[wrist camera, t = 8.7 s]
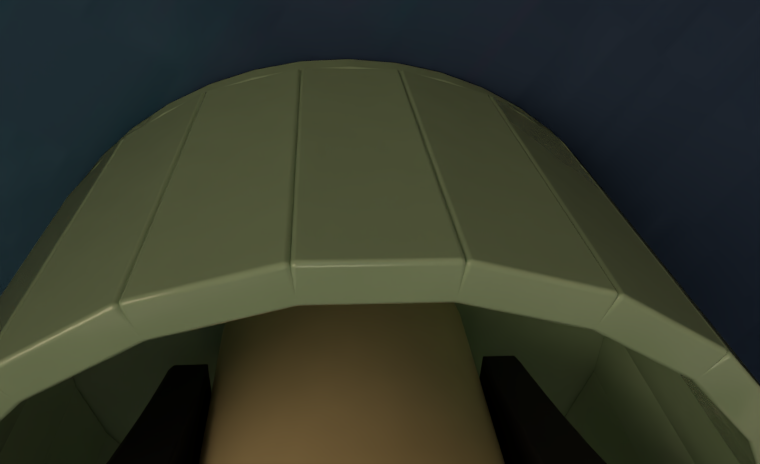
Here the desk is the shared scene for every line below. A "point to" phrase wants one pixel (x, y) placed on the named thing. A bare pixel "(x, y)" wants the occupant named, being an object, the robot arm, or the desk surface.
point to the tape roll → (349, 389)
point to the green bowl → (358, 262)
